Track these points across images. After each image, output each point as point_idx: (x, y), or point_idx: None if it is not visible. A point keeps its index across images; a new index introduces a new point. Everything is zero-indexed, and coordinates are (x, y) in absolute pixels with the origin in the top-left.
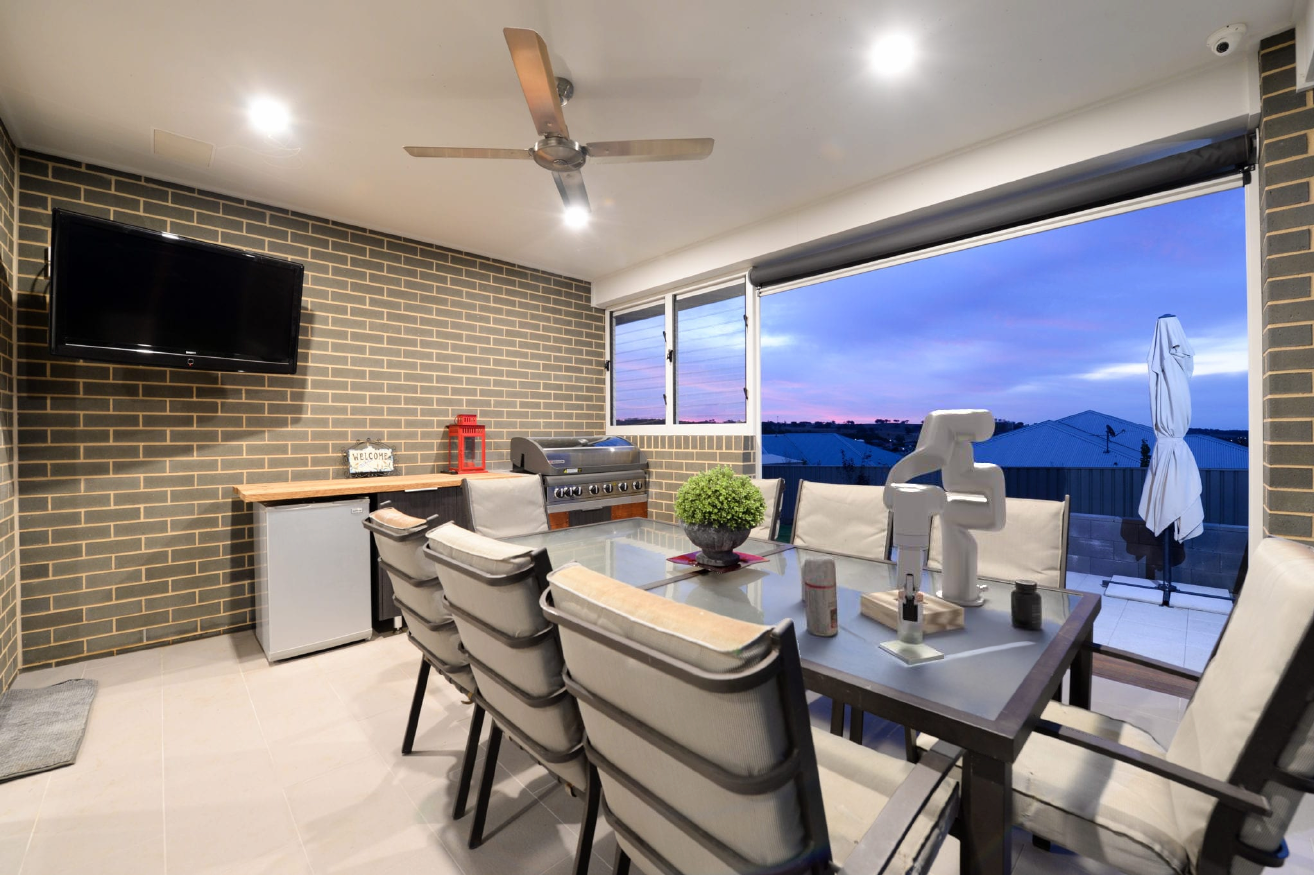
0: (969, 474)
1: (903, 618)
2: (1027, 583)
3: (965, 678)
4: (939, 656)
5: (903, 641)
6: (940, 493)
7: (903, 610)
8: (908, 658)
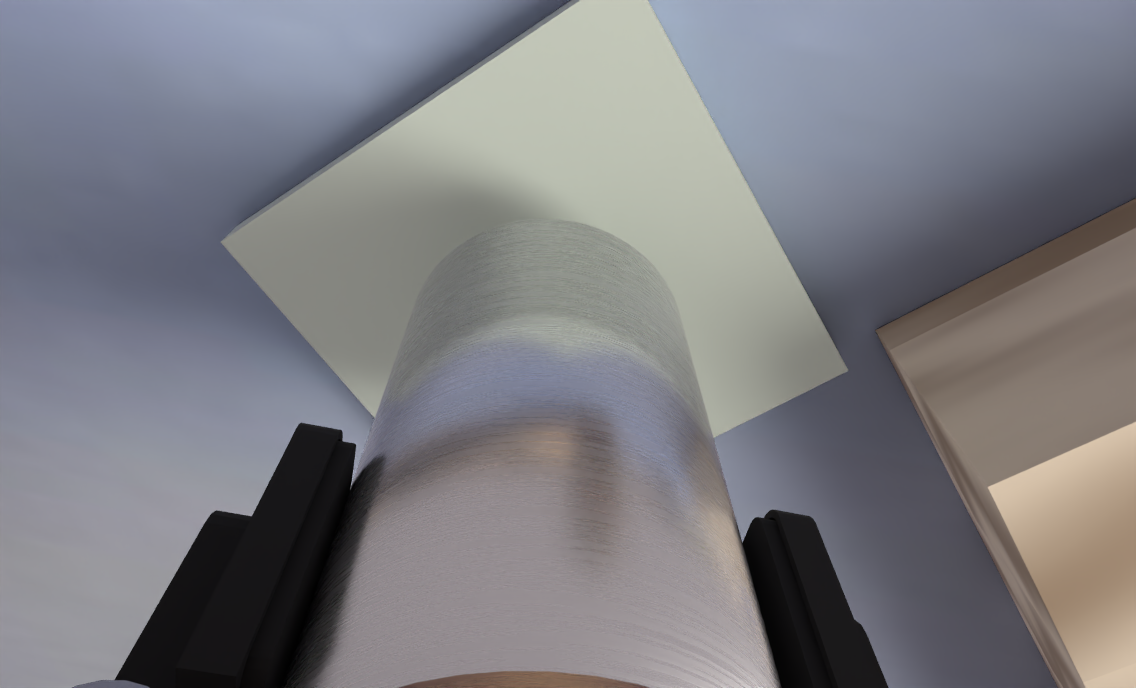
0: None
1: (298, 443)
2: None
3: (164, 573)
4: None
5: (436, 271)
6: None
7: (241, 547)
8: (272, 243)
